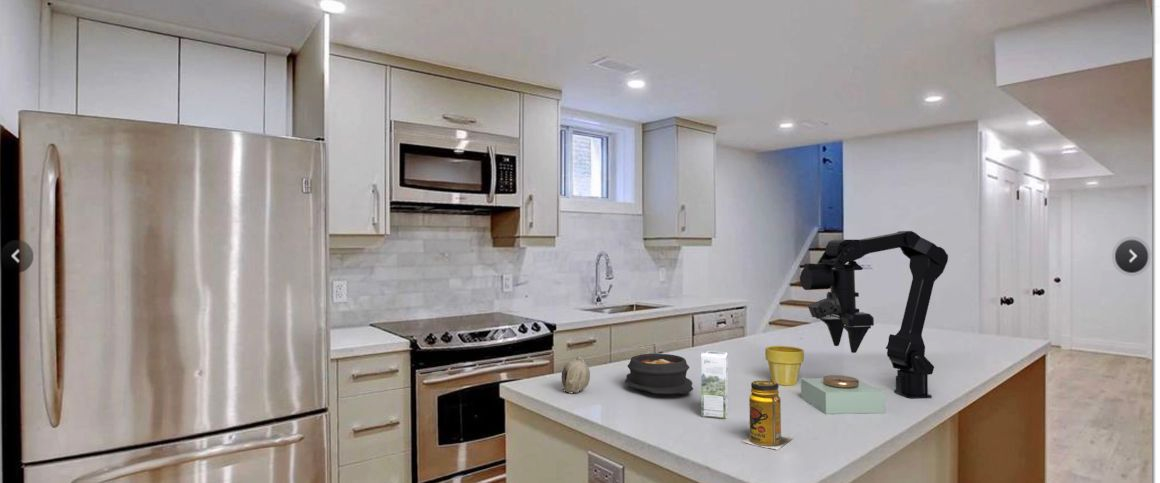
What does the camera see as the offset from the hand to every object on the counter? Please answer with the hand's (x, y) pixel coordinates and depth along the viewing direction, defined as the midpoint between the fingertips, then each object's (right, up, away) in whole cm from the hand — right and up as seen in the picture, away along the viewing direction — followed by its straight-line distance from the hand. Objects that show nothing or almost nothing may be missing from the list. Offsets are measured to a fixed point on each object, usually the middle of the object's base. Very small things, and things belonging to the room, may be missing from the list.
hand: (844, 349), depth 148 cm
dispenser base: (-4, -13, -6) cm, 14 cm away
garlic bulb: (-69, -14, +9) cm, 71 cm away
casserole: (-46, -13, +12) cm, 50 cm away
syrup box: (-36, -13, -13) cm, 41 cm away
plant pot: (-9, -13, +17) cm, 23 cm away
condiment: (-30, -13, -31) cm, 45 cm away
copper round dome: (-4, -12, -6) cm, 13 cm away
